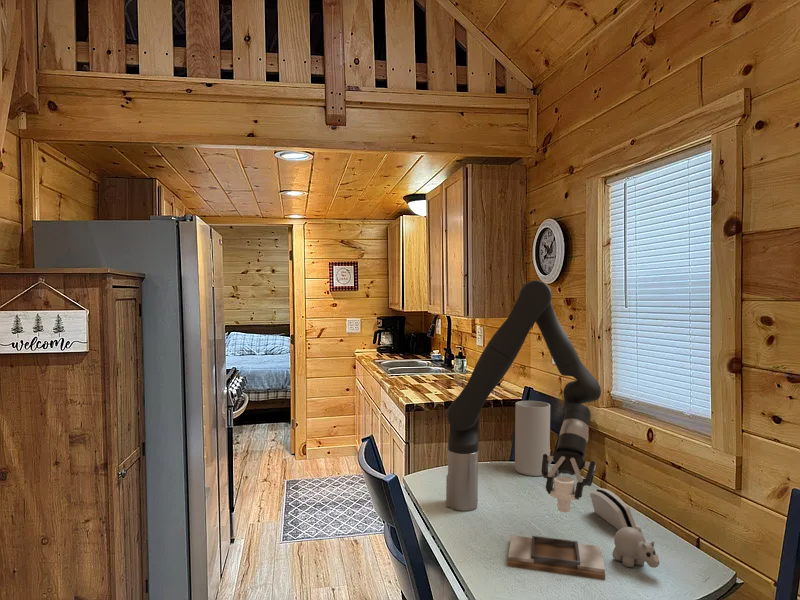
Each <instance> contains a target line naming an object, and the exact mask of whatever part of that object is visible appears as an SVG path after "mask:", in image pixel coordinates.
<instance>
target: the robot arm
mask: <svg viewBox="0 0 800 600" xmlns="http://www.w3.org/2000/svg"><path fill="white" fill-rule="evenodd" d="M552 299H553V295H552V289H551V288H550V286H549V285H548V283H546V282H544V281H542V280H538V279H537V280H536V279H535V280H530V281H527V282H525V283H524V284H523V285H522V287H520V290H519V294H518V297H517V299H516V302H515V304H514V305H513V308H512V309H511V311H510V313H509V315H508V317H507V318H506V319H505V321H504V322H502V324H501V325H500V327H499V328H498V329H497V330H496V331H495V332H494V334H493V335H492V336H491V338H490V340H489V341H488V342H487V344H486V346H485V347H484V349H483V351H482V353H481V354H480V356H479V358H478V360H477V362H476V364H475V366H474V368H473V370H472V371H471V374H470V377H469V379H468V382H467V383H466V385H464V387H463V388H462V390H461V392H460V393H459V394H458V395H457V397H455V399H454V400H453V401H452V402H451V403H450V405H449V406H448V408H447V414H446V417H447V421H448V423H449V435H448V442H447V445H448V446H447V450H448V451H447V455H448V456H447V475H446V478H445V479H446V483H445V485H446V486H445V487H446V490H445V492H446V495H445V496H446V497H445V498H446V499H445V500H446V501H445V507H446V508H449V509H453V510H456V511H461V512H462V511H463V512H465V511H467V512H469V511H473V510H476V509H477V508H478V502H479V501H478V500H479V499H478V497H479V496H478V495H479V493H478V492H479V491H478V489H479V488H478V487H479V442H480V441H479V440H480V413H481V412H482V409H483V407H484V405H485V403H486V401H487V400H488V398H489V397H490V395H491V394H492V392H493V391H494V390H495V388H496V387H497V386H498V385H499V384H500V382H501V380H502V379H503V378H504V376H505V375H506V373H508V371H509V369H510V368H511V367H512V364H514V361H515V360H516V358H517V356H518V354H519V352H520V351H521V349H522V347H523V345H524V343H525V340H526V338H527V336H528V334H529V332H530V330H531V329H532V327H533V326H534V325H535V323H536V325H537V327H538V328H539V331H540V334H541V335H542V338H543V339H544V341H545V344H546V347H547V350H548V351H549V354H550V356H551V358H552V360H553V362H554V365H555V366H556V369H557V371H558V372H559V374H560V376H561V375H562V377H563V376H565V377H573V378H574V379H575V380H572V381H569V382H567V383H566V384H565V386H564V388H563V391H562V393H563V401H564V410H565V412H564V416H563V420H562V421H563V422H562V425H561V426H560V427H561V428H560V431H559V436H558V440H557V441H558V442H557V446H556V449H555V453H554V455H553V456H552V455H550V456H547V454H544V455H543V460H542V470H541V473H542V475H543V476H542V478H543V479H546V483H545V491H546V492H547V494H548V495H550V492H551V490H552V489H553V488H554V478H555V477H559V476H561V474H562V475H563V474H567V475H570V476H575V479H576V480H577V482H576V483H575V484H576V485H575V498H576V499H575V500H579V499H581V498H582V497H583V493H584V487H585V486H588V487H591V486H592V484H593V482H594V477H595V474H596V471H597V466H596V462H595V461H594V460H591V461H586V459H585V458H586V453H587V446H588V442H589V428H590V422H591V415H592V414H591V410H590V408H589V407H588V406H586V405H584V404H587V403H591V402H596V401H597V400H599V399H600V398H601V395H602V389H601V385H600V383H599V381H598V379H597V378H596V377H595V376H594V375H593V374H592V373H591V372H590V370H589V369H588V368H587V367H586V366H585V364H583V362H582V361H581V359H580V356H579V354H578V353H577V351H576V349H575V346H574V344H573V343H572V341H571V340H570V337H569V336H568V334H567V332H566V331H565V329H564V328H563V325H562V324H561V323H560V320H559V318H558V317H557V314H556V312H555V309H554V306H553V303H552ZM552 462H553V463H554V465H553V466H552V468H551V470H550V471H549V473H548V465H551V464H552ZM585 467H586V470H587V472H586V476H585V478H583V477H582V473H581V472H580V471H581V470H583V469H584V468H585Z"/></svg>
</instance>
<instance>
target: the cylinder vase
mask: <svg viewBox="0 0 800 600" xmlns="http://www.w3.org/2000/svg"><path fill="white" fill-rule="evenodd" d="M514 416H515V425H514V427H515V428H514V430H515V434H514V439H515V440H514V451H515V452H514V469H515V471H516V472H517V473H519V474H521V475H524V476H529V477H531V476H532V477H543V475H542V473H541V470H542V460H543V455H544V454H547V456H551V454H550V451H551V444H550V443H551V404H550V403H548V402H545V401H538V400H520V401H517V402H515V414H514ZM550 465H551V464H550ZM550 465H548V473H549V472H550V471H551V470H550V469H551V468H550Z"/></svg>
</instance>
